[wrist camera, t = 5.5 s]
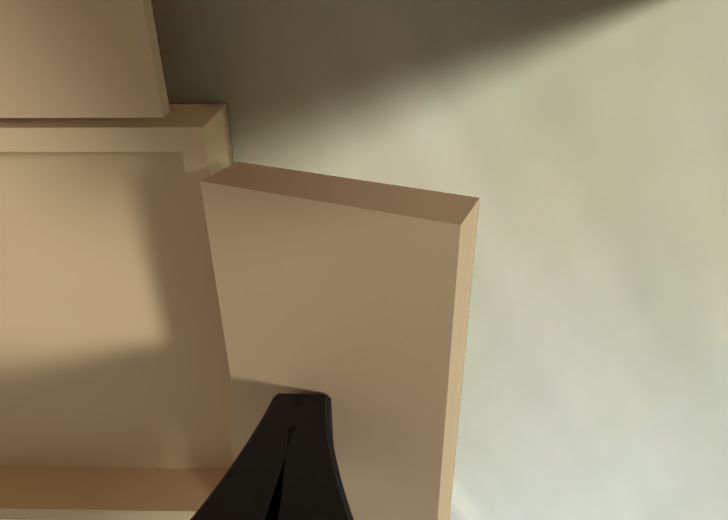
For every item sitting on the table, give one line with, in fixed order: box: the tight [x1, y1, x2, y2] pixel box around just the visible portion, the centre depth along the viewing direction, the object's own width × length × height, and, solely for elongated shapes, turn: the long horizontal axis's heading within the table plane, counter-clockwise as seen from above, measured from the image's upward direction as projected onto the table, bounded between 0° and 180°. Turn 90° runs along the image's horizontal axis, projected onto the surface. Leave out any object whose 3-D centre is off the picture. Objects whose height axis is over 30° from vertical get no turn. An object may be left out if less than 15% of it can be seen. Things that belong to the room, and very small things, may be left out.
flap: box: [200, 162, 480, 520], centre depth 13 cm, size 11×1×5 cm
